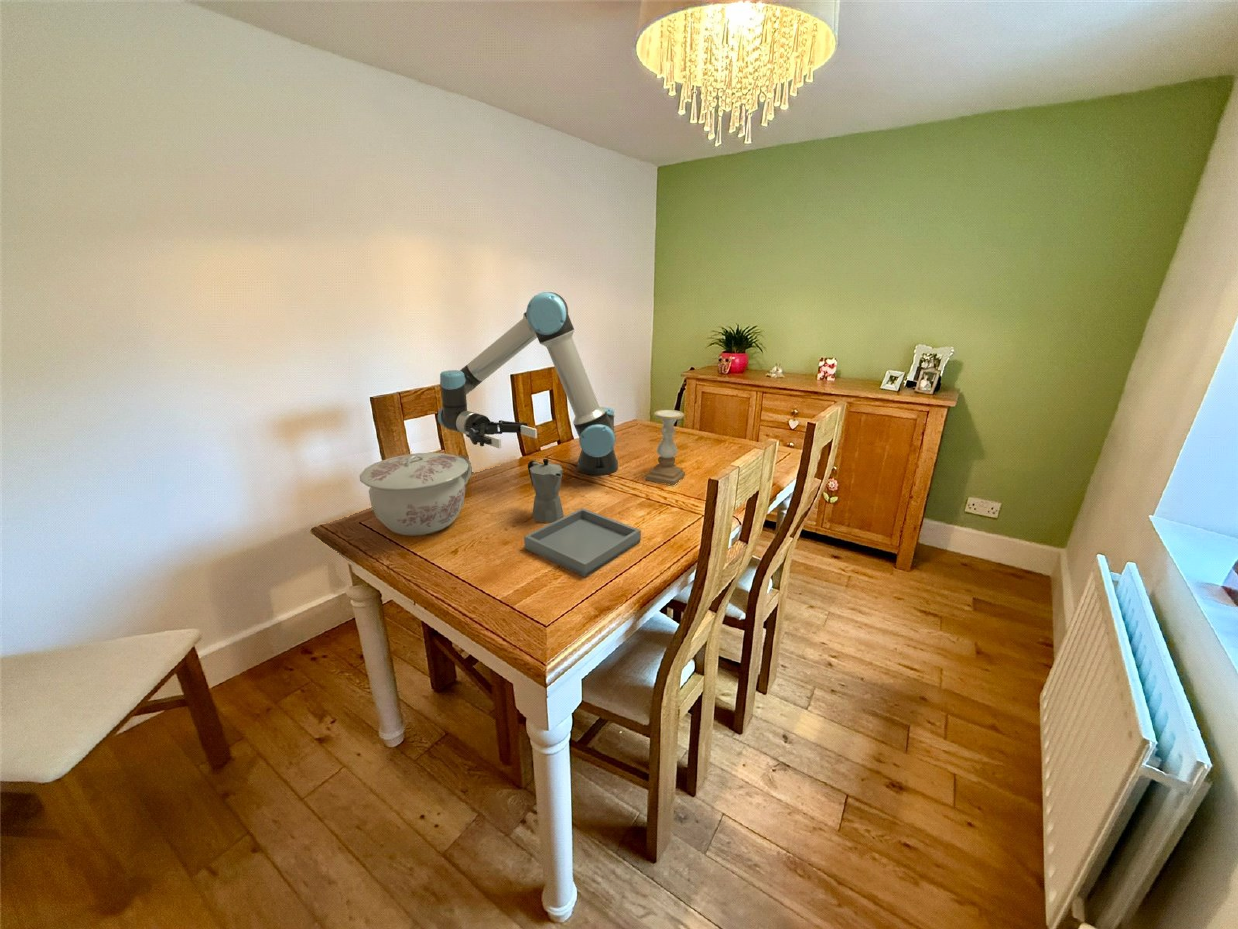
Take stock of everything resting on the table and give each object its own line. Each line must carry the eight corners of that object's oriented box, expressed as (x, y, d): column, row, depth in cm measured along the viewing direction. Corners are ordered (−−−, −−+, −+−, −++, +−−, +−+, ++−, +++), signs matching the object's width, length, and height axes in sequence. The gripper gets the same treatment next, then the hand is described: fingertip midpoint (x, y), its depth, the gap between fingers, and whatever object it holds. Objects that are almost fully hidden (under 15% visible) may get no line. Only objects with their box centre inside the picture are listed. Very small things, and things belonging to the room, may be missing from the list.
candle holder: (645, 480, 171) (647, 414, 162) (657, 470, 180) (660, 407, 172) (674, 486, 166) (678, 418, 158) (685, 476, 175) (689, 411, 167)
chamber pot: (360, 555, 121) (345, 478, 114) (378, 509, 146) (367, 443, 139) (476, 541, 129) (469, 468, 121) (475, 499, 153) (469, 436, 146)
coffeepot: (574, 519, 142) (573, 461, 135) (548, 529, 135) (545, 469, 129) (543, 502, 152) (541, 447, 146) (517, 511, 146) (514, 454, 140)
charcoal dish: (582, 519, 142) (582, 508, 140) (640, 541, 130) (640, 530, 128) (524, 548, 125) (524, 536, 124) (585, 577, 113) (585, 564, 112)
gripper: (505, 428, 165) (549, 441, 152) (440, 445, 146) (484, 461, 134) (504, 406, 162) (549, 418, 150) (437, 420, 143) (482, 435, 131)
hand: (518, 438), depth 142 cm, fingers open, 13 cm apart
